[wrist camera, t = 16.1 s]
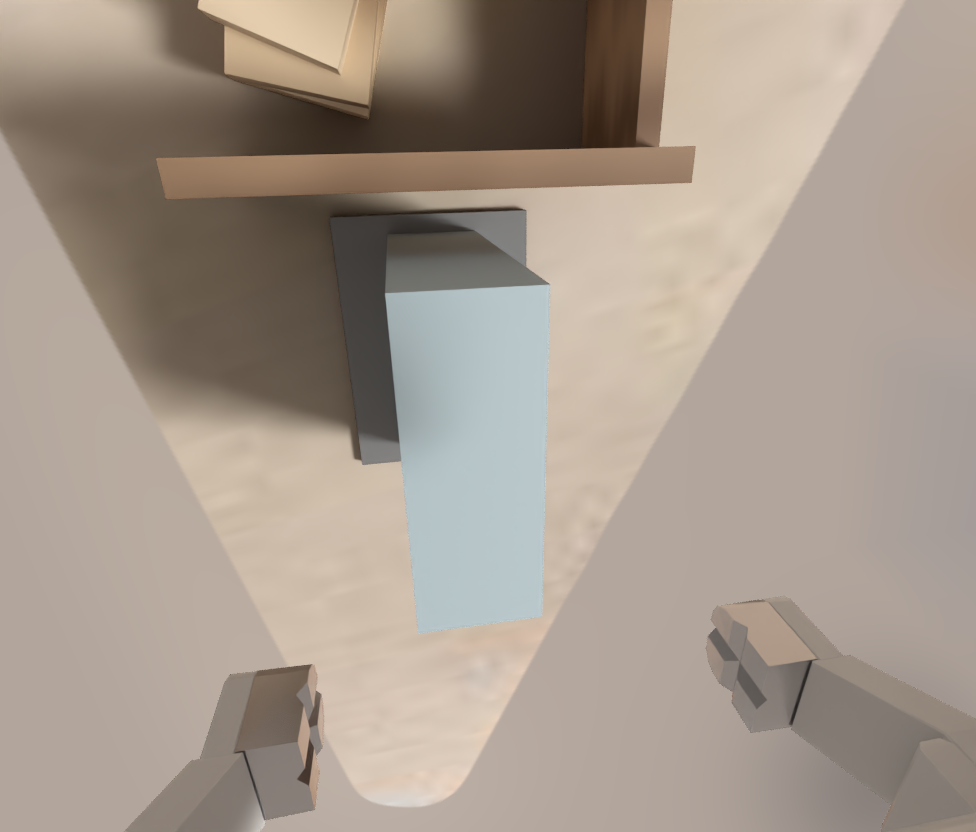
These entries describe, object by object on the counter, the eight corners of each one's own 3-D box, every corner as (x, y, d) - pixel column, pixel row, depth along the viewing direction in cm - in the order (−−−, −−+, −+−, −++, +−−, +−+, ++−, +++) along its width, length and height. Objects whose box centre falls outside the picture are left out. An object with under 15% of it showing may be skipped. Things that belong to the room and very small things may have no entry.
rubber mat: (330, 217, 28) (329, 217, 27) (524, 209, 29) (526, 210, 29) (362, 461, 34) (362, 465, 33) (523, 445, 35) (525, 449, 35)
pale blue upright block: (387, 234, 28) (385, 293, 15) (474, 230, 29) (550, 284, 15) (406, 444, 33) (418, 633, 20) (481, 437, 34) (542, 617, 20)
